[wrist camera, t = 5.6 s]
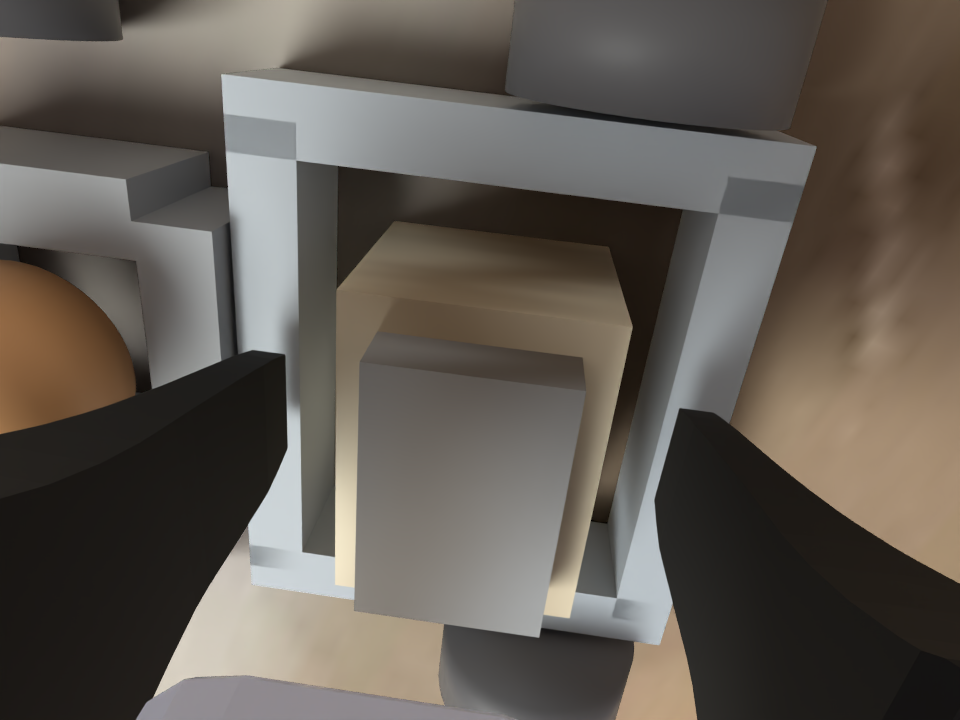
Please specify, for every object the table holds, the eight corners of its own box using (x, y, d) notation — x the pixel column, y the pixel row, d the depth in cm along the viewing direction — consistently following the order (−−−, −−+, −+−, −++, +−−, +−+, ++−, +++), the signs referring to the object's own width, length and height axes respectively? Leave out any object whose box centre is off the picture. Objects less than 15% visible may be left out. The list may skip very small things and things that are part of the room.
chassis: (803, 4, 12) (934, -14, 8) (628, 623, 18) (651, 785, 14) (-128, -103, 12) (-448, -170, 8) (29, 535, 19) (-109, 667, 15)
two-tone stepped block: (608, 245, 14) (642, 358, 9) (563, 480, 17) (571, 667, 12) (395, 219, 14) (313, 316, 9) (385, 455, 17) (317, 630, 12)
